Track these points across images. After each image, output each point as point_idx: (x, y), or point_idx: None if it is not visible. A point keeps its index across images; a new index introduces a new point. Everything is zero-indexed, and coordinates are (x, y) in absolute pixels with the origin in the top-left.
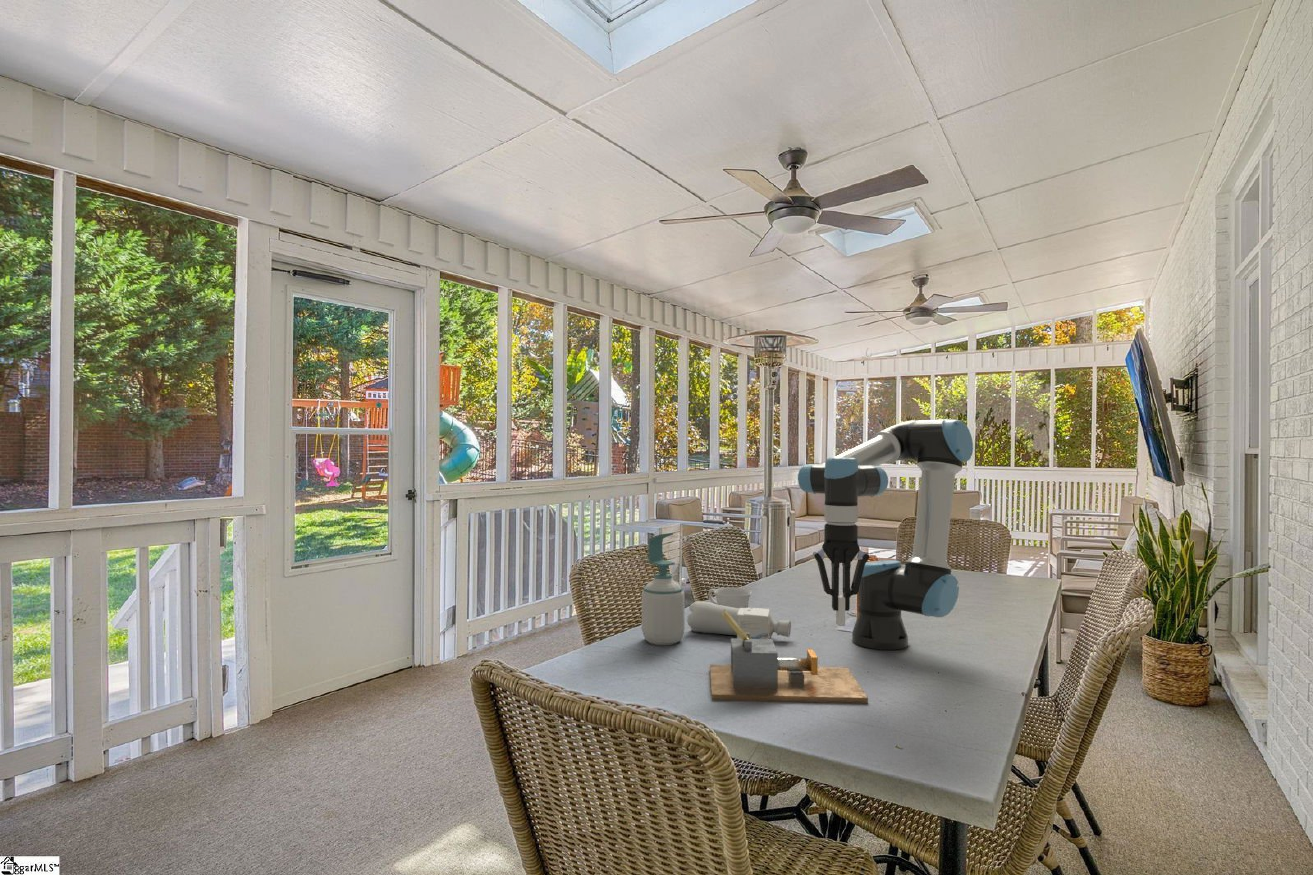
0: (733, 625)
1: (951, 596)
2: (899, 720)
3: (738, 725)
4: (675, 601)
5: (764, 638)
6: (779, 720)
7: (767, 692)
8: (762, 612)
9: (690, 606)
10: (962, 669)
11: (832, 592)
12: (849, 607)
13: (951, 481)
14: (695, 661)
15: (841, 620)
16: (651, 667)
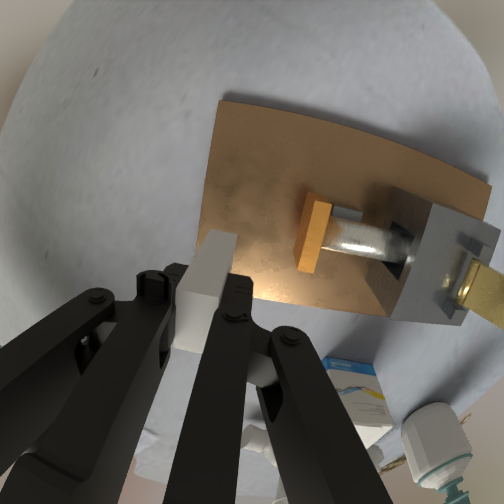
0: None
1: None
2: (198, 25)
3: (474, 78)
4: (443, 451)
5: (339, 386)
6: (420, 68)
7: (418, 169)
8: None
9: (379, 471)
10: (19, 262)
11: (253, 339)
12: (165, 268)
13: None
14: (435, 351)
15: (222, 239)
16: (489, 327)
